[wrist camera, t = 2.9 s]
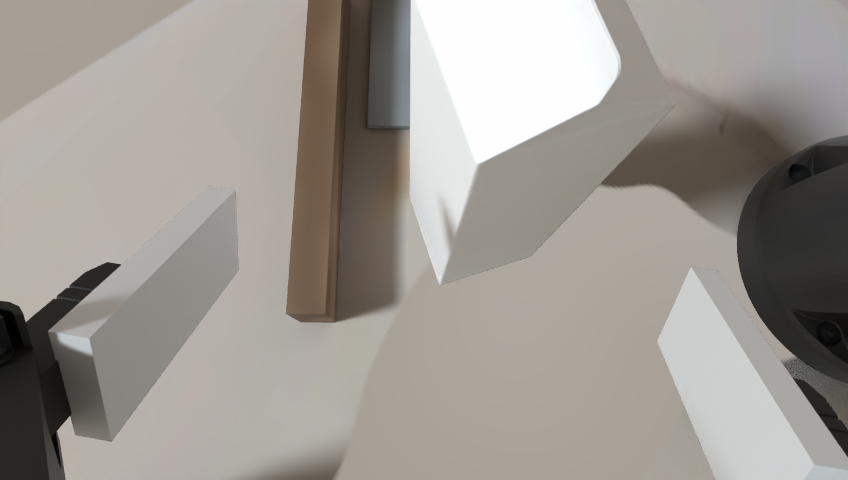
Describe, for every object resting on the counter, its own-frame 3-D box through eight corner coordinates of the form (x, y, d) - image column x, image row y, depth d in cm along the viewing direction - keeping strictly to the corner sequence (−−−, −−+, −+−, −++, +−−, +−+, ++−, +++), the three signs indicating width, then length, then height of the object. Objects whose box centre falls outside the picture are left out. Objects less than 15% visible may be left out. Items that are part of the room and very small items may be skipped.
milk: (498, 170, 35) (643, -171, 14) (531, 258, 33) (754, 33, 12) (407, 197, 34) (409, -117, 13) (437, 288, 33) (496, 105, 11)
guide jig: (556, -36, 39) (573, -82, 35) (580, 324, 32) (603, 317, 28) (324, -42, 38) (314, -89, 35) (300, 322, 32) (286, 313, 28)
